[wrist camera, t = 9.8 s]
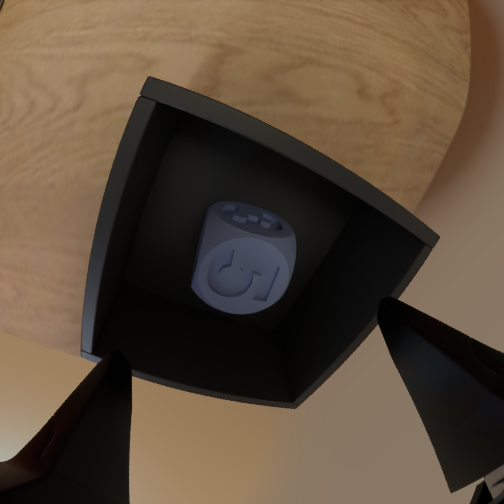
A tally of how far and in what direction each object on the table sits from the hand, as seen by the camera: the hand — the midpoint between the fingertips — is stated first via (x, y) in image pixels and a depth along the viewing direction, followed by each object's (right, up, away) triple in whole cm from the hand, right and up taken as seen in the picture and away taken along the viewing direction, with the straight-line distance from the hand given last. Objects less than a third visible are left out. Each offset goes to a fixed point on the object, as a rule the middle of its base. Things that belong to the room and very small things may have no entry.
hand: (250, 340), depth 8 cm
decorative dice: (-1, +4, +7) cm, 8 cm away
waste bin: (-1, +4, +7) cm, 8 cm away
